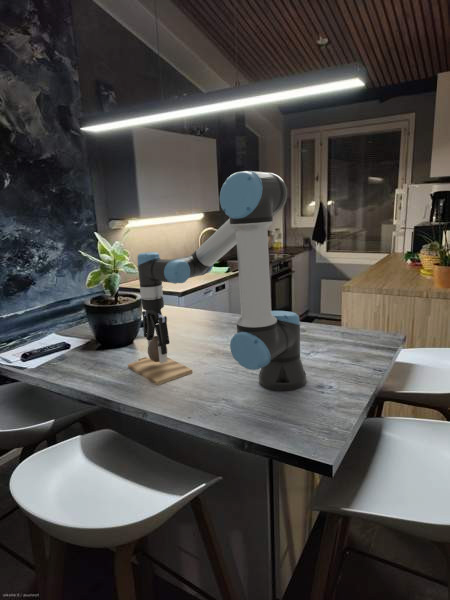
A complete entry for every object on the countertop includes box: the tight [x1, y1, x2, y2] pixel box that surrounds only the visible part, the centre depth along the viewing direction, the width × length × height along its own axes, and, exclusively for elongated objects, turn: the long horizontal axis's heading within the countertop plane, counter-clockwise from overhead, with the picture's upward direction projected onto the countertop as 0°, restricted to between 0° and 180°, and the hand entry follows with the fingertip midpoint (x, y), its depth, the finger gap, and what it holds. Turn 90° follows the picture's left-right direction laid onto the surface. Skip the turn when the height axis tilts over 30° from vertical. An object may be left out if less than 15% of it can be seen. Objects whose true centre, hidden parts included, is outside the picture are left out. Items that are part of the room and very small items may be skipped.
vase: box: [147, 335, 168, 362], centre depth 145 cm, size 7×7×9 cm
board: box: [127, 356, 193, 386], centre depth 148 cm, size 24×14×1 cm, turn 38°
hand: (158, 359), depth 146 cm, fingers closed on vase, 7 cm apart
